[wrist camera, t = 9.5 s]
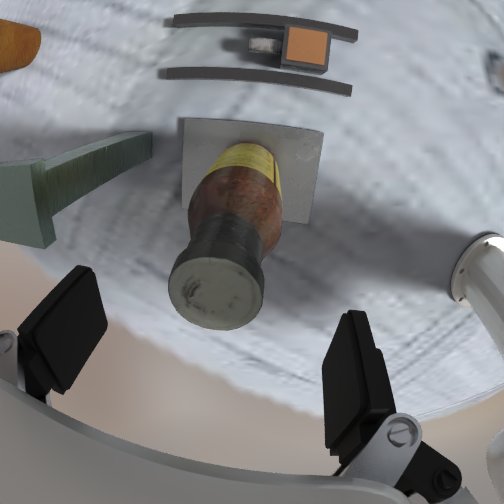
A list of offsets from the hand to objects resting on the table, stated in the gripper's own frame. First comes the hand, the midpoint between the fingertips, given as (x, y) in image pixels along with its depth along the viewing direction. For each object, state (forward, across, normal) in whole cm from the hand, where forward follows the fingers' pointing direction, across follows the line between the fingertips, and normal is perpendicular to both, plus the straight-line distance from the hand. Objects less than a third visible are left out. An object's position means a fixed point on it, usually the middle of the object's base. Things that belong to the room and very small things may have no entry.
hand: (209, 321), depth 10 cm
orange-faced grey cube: (+22, -1, -13) cm, 26 cm away
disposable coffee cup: (+22, +34, -18) cm, 44 cm away
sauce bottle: (+22, +1, 0) cm, 22 cm away
